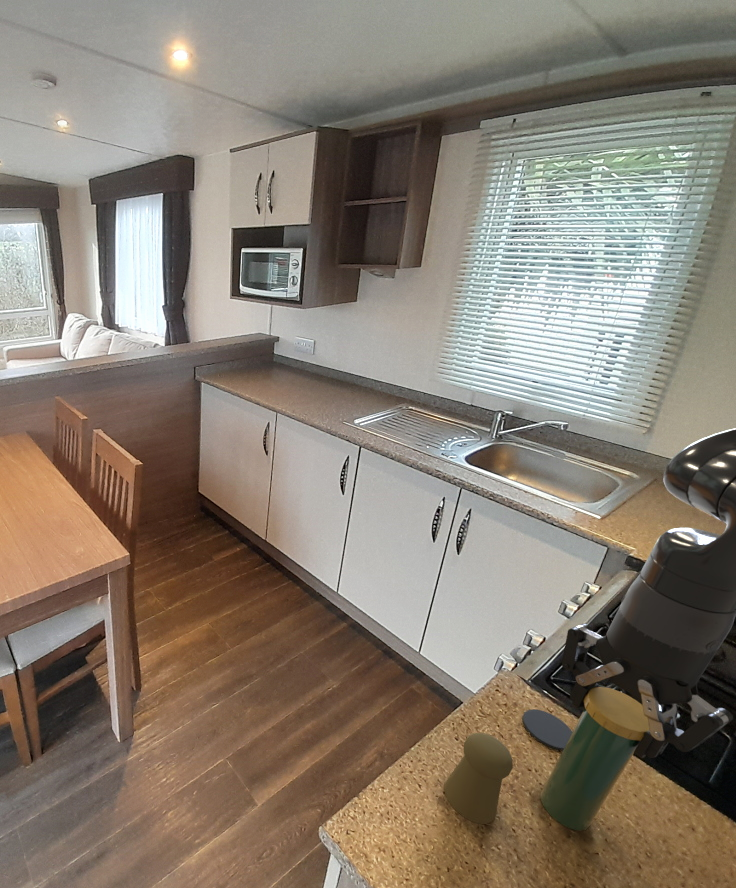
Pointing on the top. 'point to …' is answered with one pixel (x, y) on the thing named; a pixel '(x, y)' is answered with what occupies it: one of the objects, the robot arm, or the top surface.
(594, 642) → the robot arm
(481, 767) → the cork
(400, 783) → the top surface
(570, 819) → the cylinder
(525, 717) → the coaster
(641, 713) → the jar lid
